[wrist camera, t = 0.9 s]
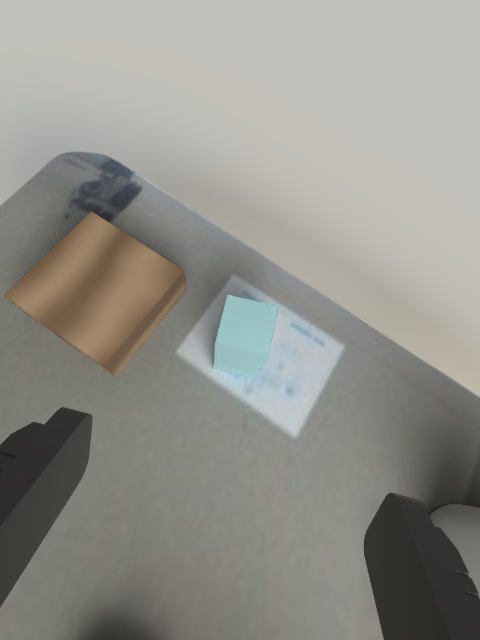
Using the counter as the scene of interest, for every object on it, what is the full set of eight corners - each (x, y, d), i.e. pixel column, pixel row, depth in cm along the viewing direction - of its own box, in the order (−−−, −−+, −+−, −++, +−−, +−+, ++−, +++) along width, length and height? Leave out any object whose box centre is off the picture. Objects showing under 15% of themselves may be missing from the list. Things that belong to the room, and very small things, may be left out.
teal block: (263, 338, 39) (278, 306, 31) (255, 378, 38) (268, 355, 29) (223, 329, 39) (227, 294, 31) (213, 368, 38) (215, 342, 29)
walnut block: (186, 291, 41) (183, 270, 36) (116, 377, 37) (103, 366, 32) (103, 238, 43) (91, 211, 38) (28, 315, 38) (3, 295, 34)
